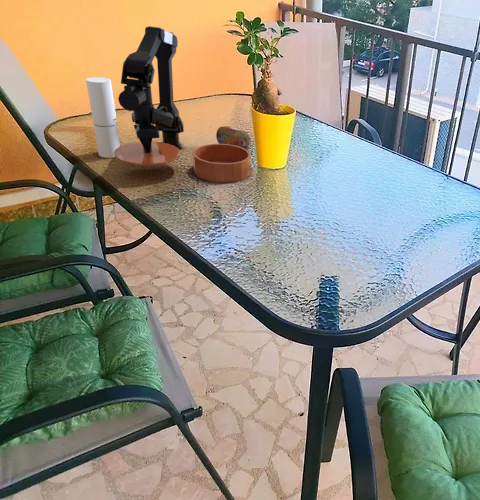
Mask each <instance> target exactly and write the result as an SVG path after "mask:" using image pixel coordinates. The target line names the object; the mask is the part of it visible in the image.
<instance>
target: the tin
mask: <svg viewBox="0 0 480 500" xmlns="http://www.w3.org/2000/svg"><path fill="white" fill-rule="evenodd" d="M215 137H216V141H217V144H230V145H235V146H239V147H242V148H244V149H246V150H248V151H249V150H250V148H251V145H252V140H251V137H250V135H249V133H247V131H246V130H243V129H239V128H236V127H233V126H229V125H223V126H220V127H218V128H217V130H216V133H215Z"/></svg>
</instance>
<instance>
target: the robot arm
mask: <svg viewBox="0 0 480 500" xmlns="http://www.w3.org/2000/svg"><path fill="white" fill-rule="evenodd" d="M178 41H179V40H178V37H177V36H176V35H175V34H174V32H171V31H167V30H165V29H164V28H162V27H159V26H151V25H149V26H145V29H144V35H143V37H142V39H141V41H140V43H139V45H138V47H137V49H136V50H135V51H134V52H131V53H129V54H128V55H127V57H125V60H124V61H123V63H122V71H121V77H120V78H121V79H120V84H121V85H124V86H123V90H122V91H121V92H120V93H119V94H118V97H117V98H118V99H117V100H118V103H119V105H120V107H122V108H123V109H124V110H125V111H129V112H132V113H131V121H132V123H134V124H133V128H134V131H135V135H136V138H137V139H138V140H139V142H141V143H142V145H143V147H144V149H145V150H146V152H150V150H151V143H152V141H153V139H159V138H160V132H161V135H162V141H161V142H162V143H167V144H171V145H173V146H175V147H177V148H178V149H179V150H181V149H183V147H182V145H181V142H180V134H181V133H184V131H185V130H184V127H185V125H184V122H183V119H181V116H180V111H179V109H178V108H177V106H176V104H175V101H174V83H173V81H174V80H173V62H172V61H173V58H174V57H175V55H176V53H177V48H178V45H179V44H178ZM155 58H156V63H157V79H158V97H159V99H158V100H159V103H158V105H157V106H156V108H155V107H154V104H153V96H152V95H153V94H152V86H151V85H152V84H153V81H154V77H155V72H156V71H155V68H154V64H153V61H154V59H155Z"/></svg>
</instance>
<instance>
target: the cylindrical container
mask: <svg viewBox="0 0 480 500" xmlns="http://www.w3.org/2000/svg"><path fill="white" fill-rule="evenodd" d="M85 82H86V88H87V93H88V94H87V95H88V100H89V105H90V112H91V118H92V123H93V129H94V136H95V142H96V147H97V152H98V153H97V154H98V156H99V157H101V158H106V159H108V158H109V159H113V158H116V157H115V155H114V151H115V150H116V149H117V148H118V147H120V146H121V142H120V134H119V128H118V127H119V126H118V120H117V113H116V105H115V99H114V92H113V85H112V79H111V78H109V77H103V76H92V77H90V76H89V77H86V78H85Z"/></svg>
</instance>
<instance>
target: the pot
mask: <svg viewBox="0 0 480 500" xmlns="http://www.w3.org/2000/svg"><path fill="white" fill-rule="evenodd" d="M251 156H252V155H251V152H250V151H249V150H246V149H244V148H242V147H239V146H235V145H230V144H219V143H211V144H203V145H201V146H198V147H196V148H195V149H193V151H192V163H193V165H192V167H193V172H194V174H195V176H197V177H198V178H200V179H202V180H205V181H208V182H213V183H235V182H240V181H242V180H243V181H244V180H245V179H247V178H248V177H249V176H250V175H251V161H252V159H251V158H252V157H251Z"/></svg>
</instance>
